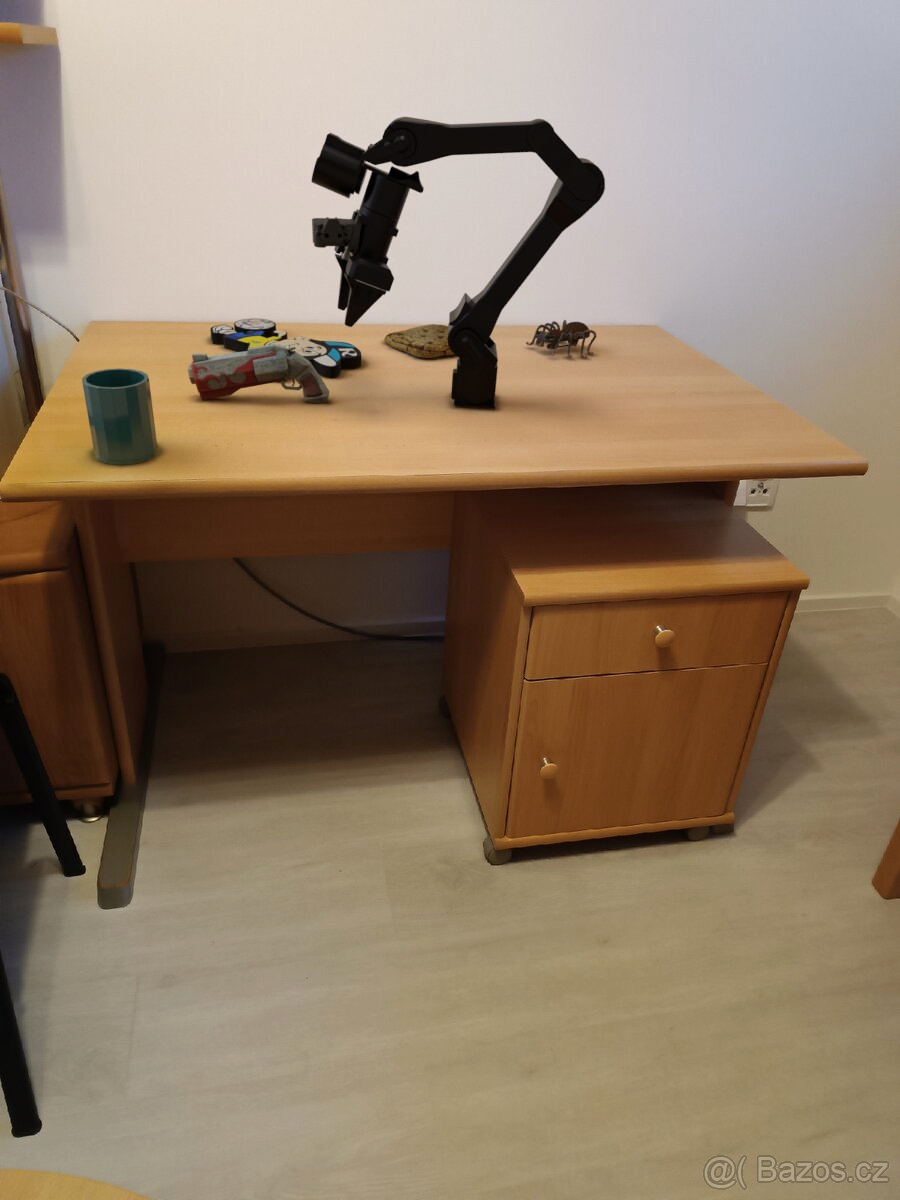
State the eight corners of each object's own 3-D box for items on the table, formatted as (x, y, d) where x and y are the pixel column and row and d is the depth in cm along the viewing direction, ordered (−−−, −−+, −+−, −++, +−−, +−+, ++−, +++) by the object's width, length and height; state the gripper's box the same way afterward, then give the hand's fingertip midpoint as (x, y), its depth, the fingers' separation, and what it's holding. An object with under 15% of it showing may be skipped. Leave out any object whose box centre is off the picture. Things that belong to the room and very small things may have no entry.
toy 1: (163, 367, 145) (337, 389, 141) (161, 355, 144) (337, 377, 140) (232, 325, 168) (383, 343, 164) (231, 315, 167) (383, 332, 163)
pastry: (480, 339, 171) (482, 323, 169) (469, 365, 156) (470, 348, 154) (393, 330, 172) (393, 314, 171) (374, 355, 158) (374, 338, 156)
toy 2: (517, 345, 169) (519, 318, 166) (564, 338, 174) (568, 313, 172) (557, 363, 160) (561, 335, 157) (606, 355, 166) (610, 329, 163)
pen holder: (165, 443, 118) (156, 370, 113) (147, 466, 112) (137, 390, 106) (106, 440, 118) (95, 366, 113) (85, 463, 112) (72, 386, 106)
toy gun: (205, 414, 137) (187, 351, 132) (330, 395, 138) (317, 331, 132) (201, 424, 134) (182, 360, 128) (329, 404, 134) (316, 339, 128)
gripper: (319, 180, 130) (288, 283, 136) (333, 200, 114) (296, 315, 121) (389, 209, 134) (355, 308, 140) (411, 233, 118) (372, 342, 125)
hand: (344, 317), depth 132 cm, fingers open, 9 cm apart
